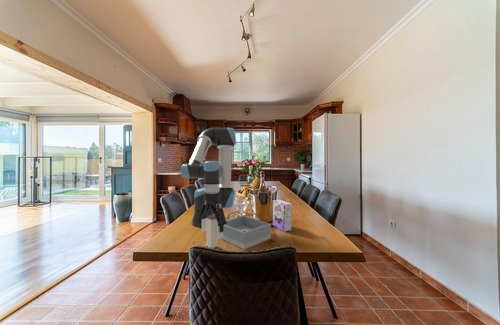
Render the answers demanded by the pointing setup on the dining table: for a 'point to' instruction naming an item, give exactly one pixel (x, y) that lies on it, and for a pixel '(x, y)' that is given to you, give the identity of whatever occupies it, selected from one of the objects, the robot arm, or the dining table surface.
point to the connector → (211, 231)
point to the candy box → (282, 215)
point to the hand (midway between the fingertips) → (211, 234)
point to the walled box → (246, 231)
